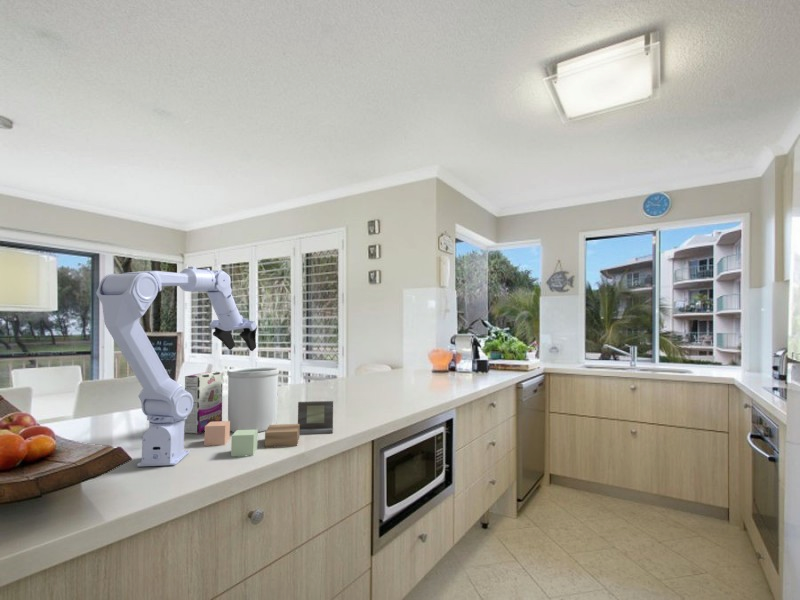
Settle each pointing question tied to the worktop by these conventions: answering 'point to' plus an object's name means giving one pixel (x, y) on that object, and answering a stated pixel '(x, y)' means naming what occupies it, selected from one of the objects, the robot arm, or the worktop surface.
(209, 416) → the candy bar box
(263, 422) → the utensil holder
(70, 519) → the worktop surface
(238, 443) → the sage cube
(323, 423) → the dark grey box
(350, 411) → the worktop surface
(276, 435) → the walnut base block
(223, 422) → the terracotta cube
